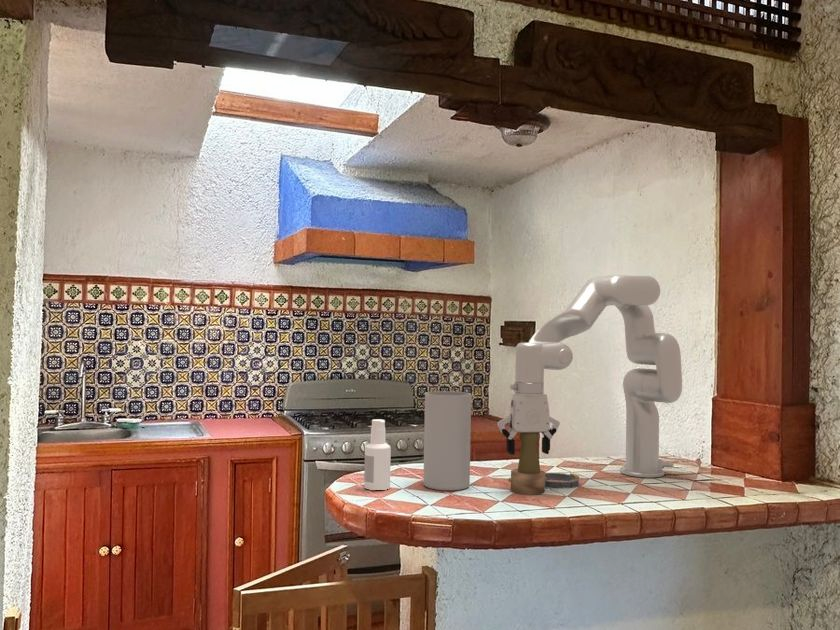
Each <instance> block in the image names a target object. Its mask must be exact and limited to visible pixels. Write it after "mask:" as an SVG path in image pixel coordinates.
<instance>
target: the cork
mask: <svg viewBox="0 0 840 630" xmlns="http://www.w3.org/2000/svg"><path fill="white" fill-rule="evenodd" d="M519 440H520V442H521V446H520V451H519V458H518V459H519V460H518V465H517V466H518V467H517V469H518V472H520V473H524V474H538V473H540V470H541V466H540V465H541V464H540V457H539V455H540V454H539V448H538V442H539V441H540V433H519Z"/></svg>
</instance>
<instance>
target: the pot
mask: <svg viewBox="0 0 840 630" xmlns="http://www.w3.org/2000/svg"><path fill="white" fill-rule="evenodd" d="M545 473H546V472H545V471H544V470H541V469H540V473H538V474H524V473H520V472H518V468H513V469H511V470H510V477H508V478H507V480H508V482H509V483H510V492H512V493H515V494H519V495H524V496H525V495H526V496H527V495H528V496H534V495H535V496H537V495H542V494H545V492H546V487H545V481H547V480H548V479H547V477H545Z"/></svg>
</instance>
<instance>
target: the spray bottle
mask: <svg viewBox="0 0 840 630" xmlns="http://www.w3.org/2000/svg"><path fill="white" fill-rule="evenodd" d="M386 439H387V438H386V420H385V419H381V418H379V419H377V418H376V419H374V418H373V419H372V420H371V428H370V439H369V440H370V441H369V443H367V444H366V445H365V446H364V467H363V468H364V472H363V473H364V480H363V481H364V482H363V488H364V489H365V488H366V489H370V490H385V491H388V490H389V489H390V488H391V460H392V459H391V453H392V452H391V450H392V448H391V445H390V444H388V443H387V442H386ZM366 489H365V490H366ZM387 489H388V490H387ZM370 490H369V491H370Z"/></svg>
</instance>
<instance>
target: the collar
mask: <svg viewBox="0 0 840 630" xmlns="http://www.w3.org/2000/svg"><path fill="white" fill-rule="evenodd" d="M545 477H547V481H545V488H550V487H551V488H552V489H572V488H577V487H579V486H580V475H578V474H577V473H575V472H574V473H569V474H567V473H562V472H561V473H560V472H545ZM557 480H560V481H557Z"/></svg>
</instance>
